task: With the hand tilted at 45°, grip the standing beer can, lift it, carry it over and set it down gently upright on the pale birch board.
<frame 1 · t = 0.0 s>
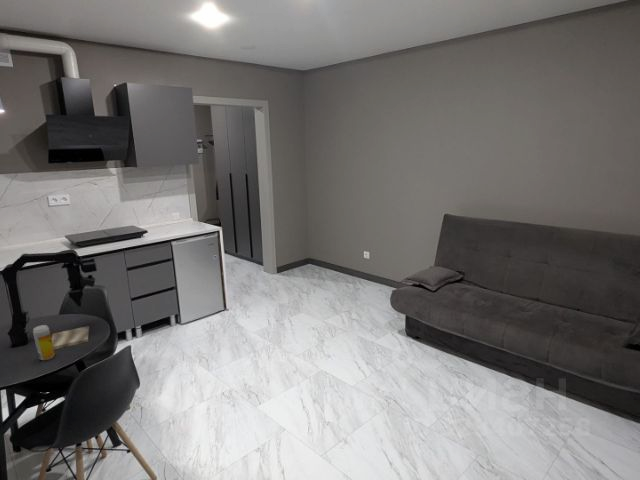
hand: (80, 303, 207), 15 cm above the table, tool pointing down, fingers open, 9 cm apart
beer can: (47, 357, 185), on the table
birch board: (70, 338, 202), on the table
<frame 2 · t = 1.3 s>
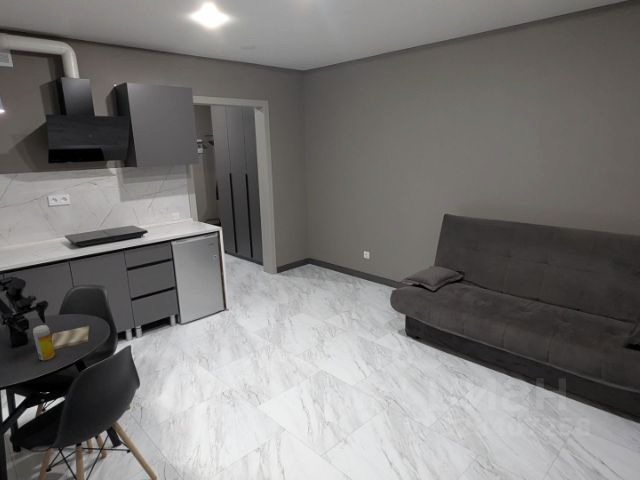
hand: (33, 327, 186), 13 cm above the table, tool tilted 45°, fingers open, 9 cm apart
nothing on the table moved.
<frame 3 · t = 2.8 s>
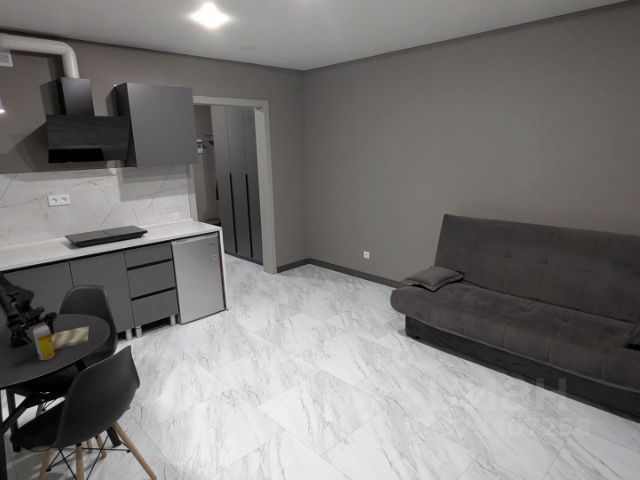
hand: (42, 338, 183), 9 cm above the table, tool tilted 45°, fingers open, 9 cm apart
nothing on the table moved.
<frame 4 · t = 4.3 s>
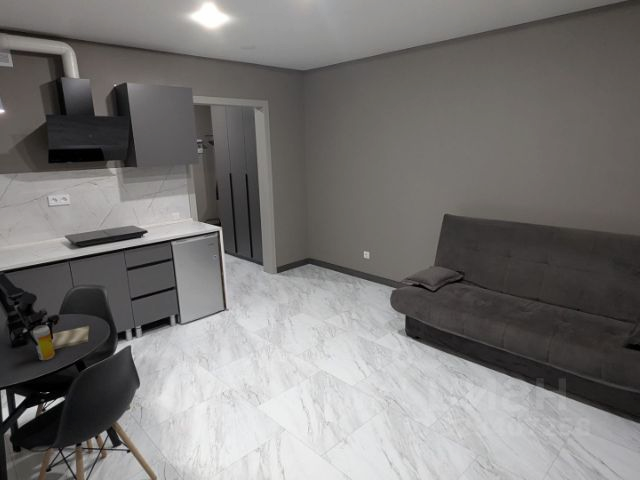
hand: (45, 342, 182), 8 cm above the table, tool tilted 45°, fingers closed on beer can, 6 cm apart
beer can: (47, 357, 185), on the table, touching gripper
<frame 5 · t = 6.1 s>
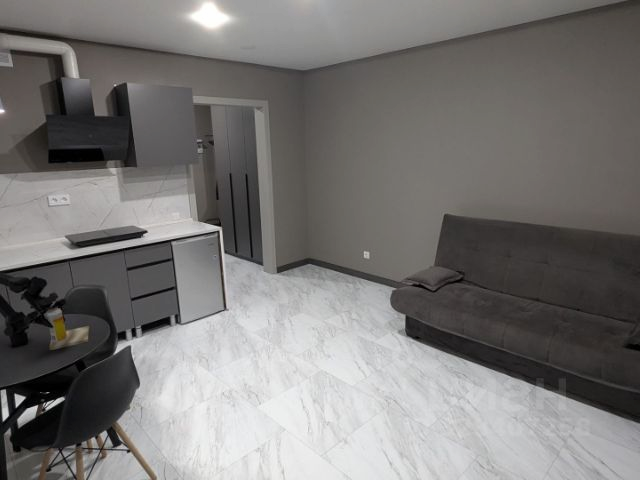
hand: (58, 324, 188), 13 cm above the table, tool tilted 45°, fingers closed on beer can, 6 cm apart
beer can: (60, 340, 190), point 5 cm above the table, touching gripper
when the fingers open (11 cm above the table, at t = 8.2 s): beer can stays where it is, resting on birch board.
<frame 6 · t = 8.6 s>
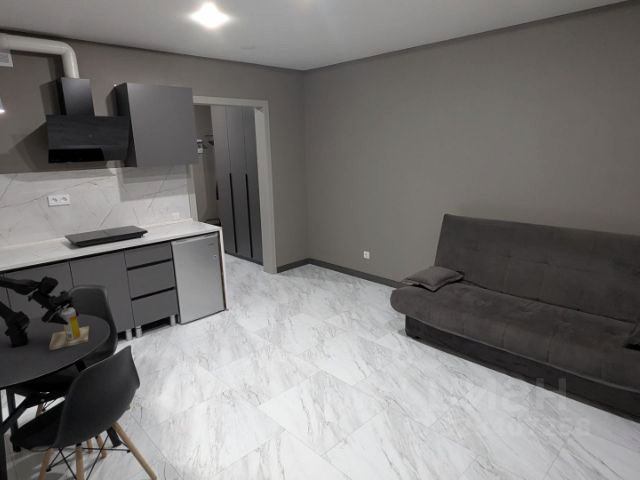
hand: (73, 319, 197), 11 cm above the table, tool tilted 45°, fingers open, 9 cm apart
beer can: (73, 338, 200), point 1 cm above the table, touching birch board
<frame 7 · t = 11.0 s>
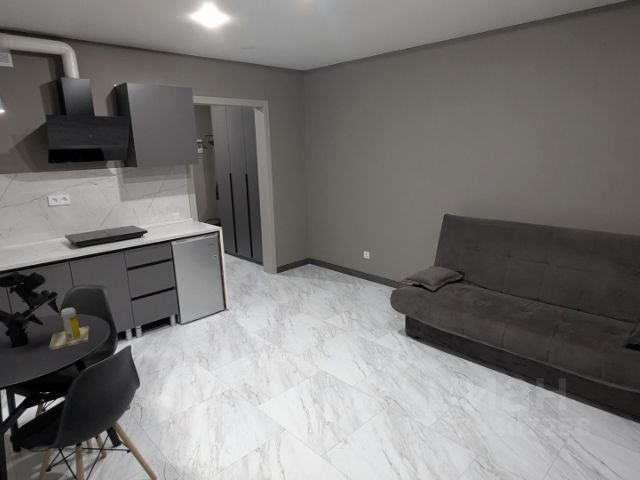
hand: (50, 318, 198), 12 cm above the table, tool tilted 30°, fingers open, 9 cm apart
nothing on the table moved.
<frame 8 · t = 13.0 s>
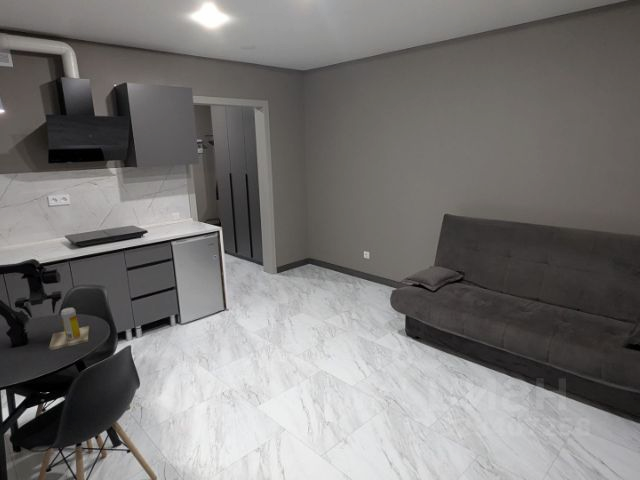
hand: (42, 315, 199), 13 cm above the table, tool pointing down, fingers open, 9 cm apart
nothing on the table moved.
at the end: beer can inside the target area on the birch board (3.2 cm from its centre), point 1.3 cm above the birch board's base; beer can tilted 0°; the gripper is holding nothing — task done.
